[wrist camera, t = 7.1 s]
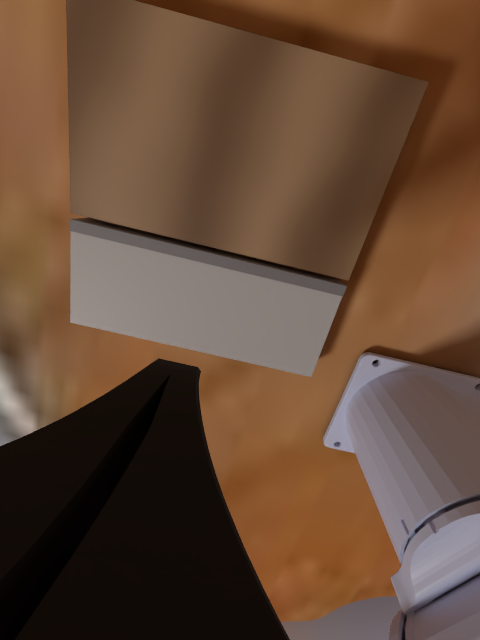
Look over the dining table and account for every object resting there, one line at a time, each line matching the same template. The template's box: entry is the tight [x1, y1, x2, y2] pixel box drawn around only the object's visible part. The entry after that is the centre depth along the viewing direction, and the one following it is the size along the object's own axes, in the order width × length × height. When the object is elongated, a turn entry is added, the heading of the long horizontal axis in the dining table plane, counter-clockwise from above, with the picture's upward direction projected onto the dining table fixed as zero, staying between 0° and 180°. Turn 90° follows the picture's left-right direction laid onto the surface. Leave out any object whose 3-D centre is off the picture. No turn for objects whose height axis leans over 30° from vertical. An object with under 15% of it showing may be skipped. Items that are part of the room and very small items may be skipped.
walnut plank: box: [66, 0, 429, 281], centre depth 14 cm, size 15×9×2 cm, turn 77°
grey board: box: [70, 218, 347, 377], centre depth 17 cm, size 15×6×2 cm, turn 77°
